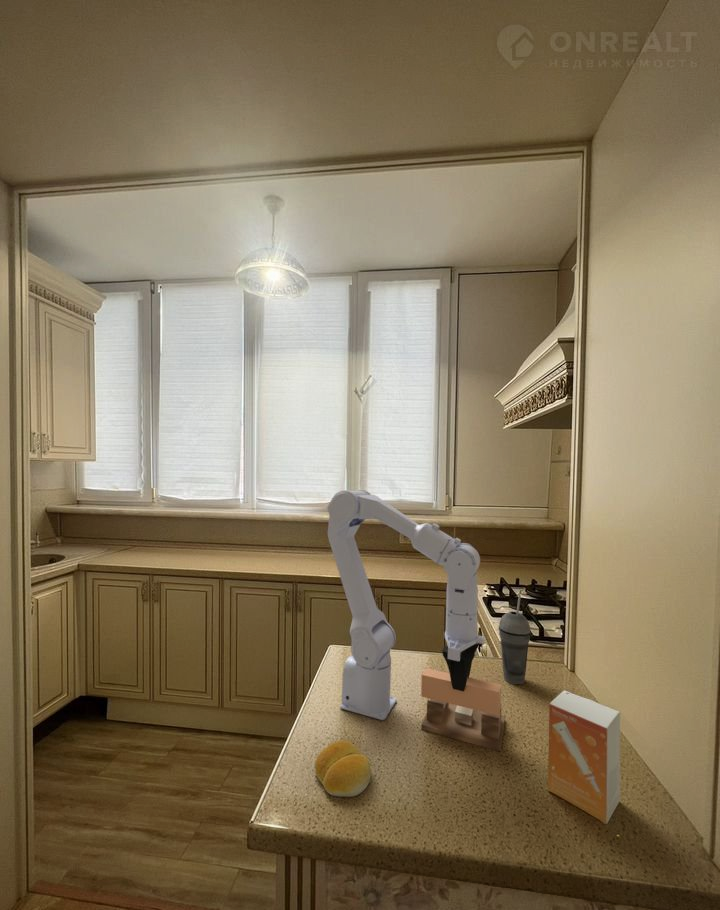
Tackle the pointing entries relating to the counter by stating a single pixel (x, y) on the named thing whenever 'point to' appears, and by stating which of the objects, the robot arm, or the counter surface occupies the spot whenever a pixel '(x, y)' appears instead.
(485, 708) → the bar
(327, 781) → the bread roll
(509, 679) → the beverage cup
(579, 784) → the small box
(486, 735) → the stand
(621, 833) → the counter surface
